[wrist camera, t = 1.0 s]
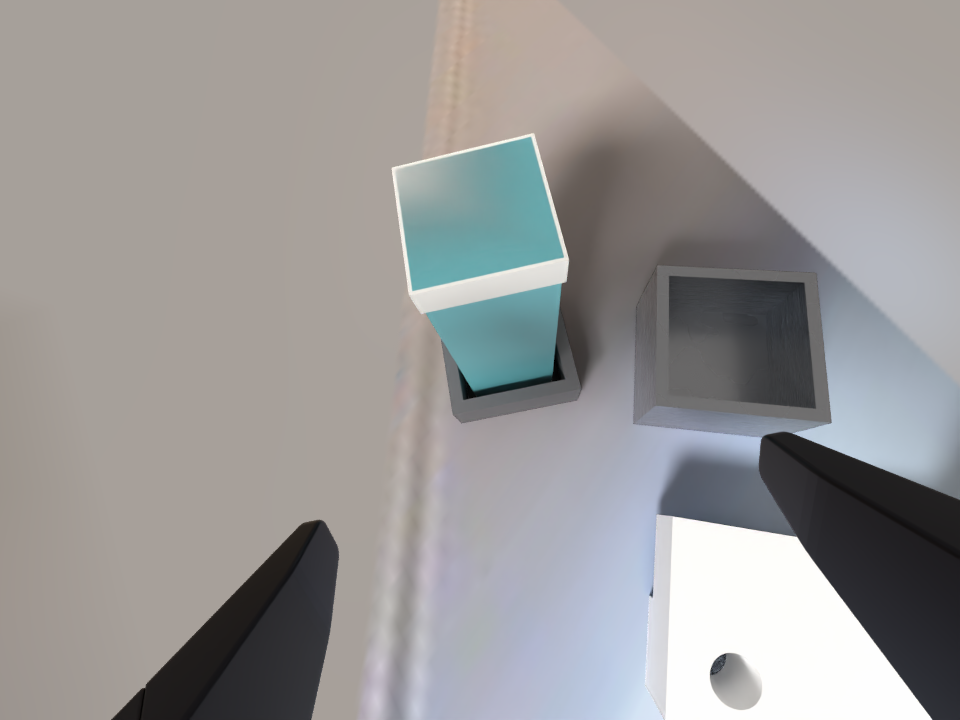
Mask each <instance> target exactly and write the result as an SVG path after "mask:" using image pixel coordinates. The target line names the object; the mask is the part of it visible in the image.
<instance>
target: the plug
mask: <svg viewBox="0 0 960 720" xmlns="http://www.w3.org/2000/svg"><path fill="white" fill-rule="evenodd" d="M392 174H393V182H394V188H395V196H396V204H397V211H398V218H399V225H400V233H401V240H402V247H403V254H404V262H405V269H406V276H407V284H408V291H409V296H410V298H411V299H412V301H413V302H414V304H415V305H416V307H417V309H418V310H419V312H420V313H421V314H423V313H426V314H427V316H428V318H429V319H430V321H431V323H432V324H433V326H434V328H435V329H436V331H437V333H438V334H439V336H440V337H441V339H442V341H443V342H444V344H445V346H446V347H447V349H448V351H449V352H450V354H451V356H452V357H453V359H454V360H455V362H456V364H457V365H458V367H459V369H460V370H461V372H462V374H463V375H464V377H465V379H466V380H467V382H468V383H469V385H470V387H471V388H472V390H473V392H474V393H475V395H476V397H481V396H486V395H491V394H496V393H501V392H506V391H510V390H515V389H520V388H525V387H530V386H535V385H540V384H545V383H550V382H552V374H553V364H554V354H555V344H556V334H557V325H558V315H559V305H560V295H561V285H562V283H565V282H566V281H567V273H568V265H569V258H568V254H567V251H566V247H565V243H564V240H563V236H562V233H561V229H560V225H559V222H558V218H557V215H556V211H555V207H554V204H553V200H552V197H551V193H550V189H549V186H548V182H547V179H546V175H545V171H544V168H543V164H542V161H541V157H540V153H539V150H538V146H537V143H536V139H535V135H534V133H532V134H528V135H524V136H520V137H516V138H512V139H508V140H504V141H500V142H495V143H491V144H487V145H483V146H479V147H475V148H471V149H467V150H463V151H458V152H454V153H450V154H446V155H442V156H438V157H434V158H430V159H426V160H421V161H418V162H413V163H409V164H405V165H401V166H397V167H393V168H392Z"/></svg>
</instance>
